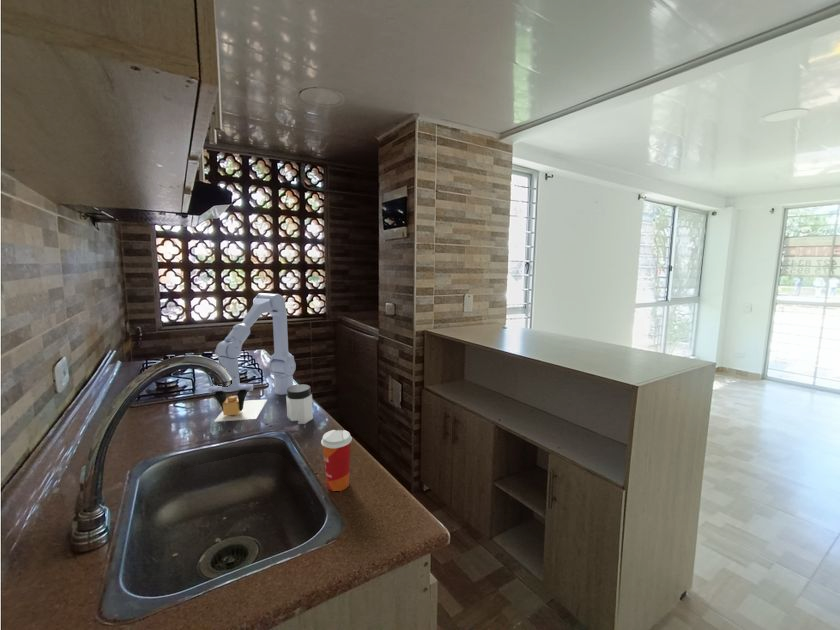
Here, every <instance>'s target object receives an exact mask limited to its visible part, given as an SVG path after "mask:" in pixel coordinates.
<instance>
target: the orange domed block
mask: <svg viewBox="0 0 840 630" xmlns="http://www.w3.org/2000/svg"><path fill="white" fill-rule="evenodd" d="M222 411H223V414H224V415H237V414H239V413H240V412H241V411H240V410H239V400H238V396H237V395H230V396H228V397H226V400H225V401H224V402H223V410H222Z"/></svg>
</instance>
